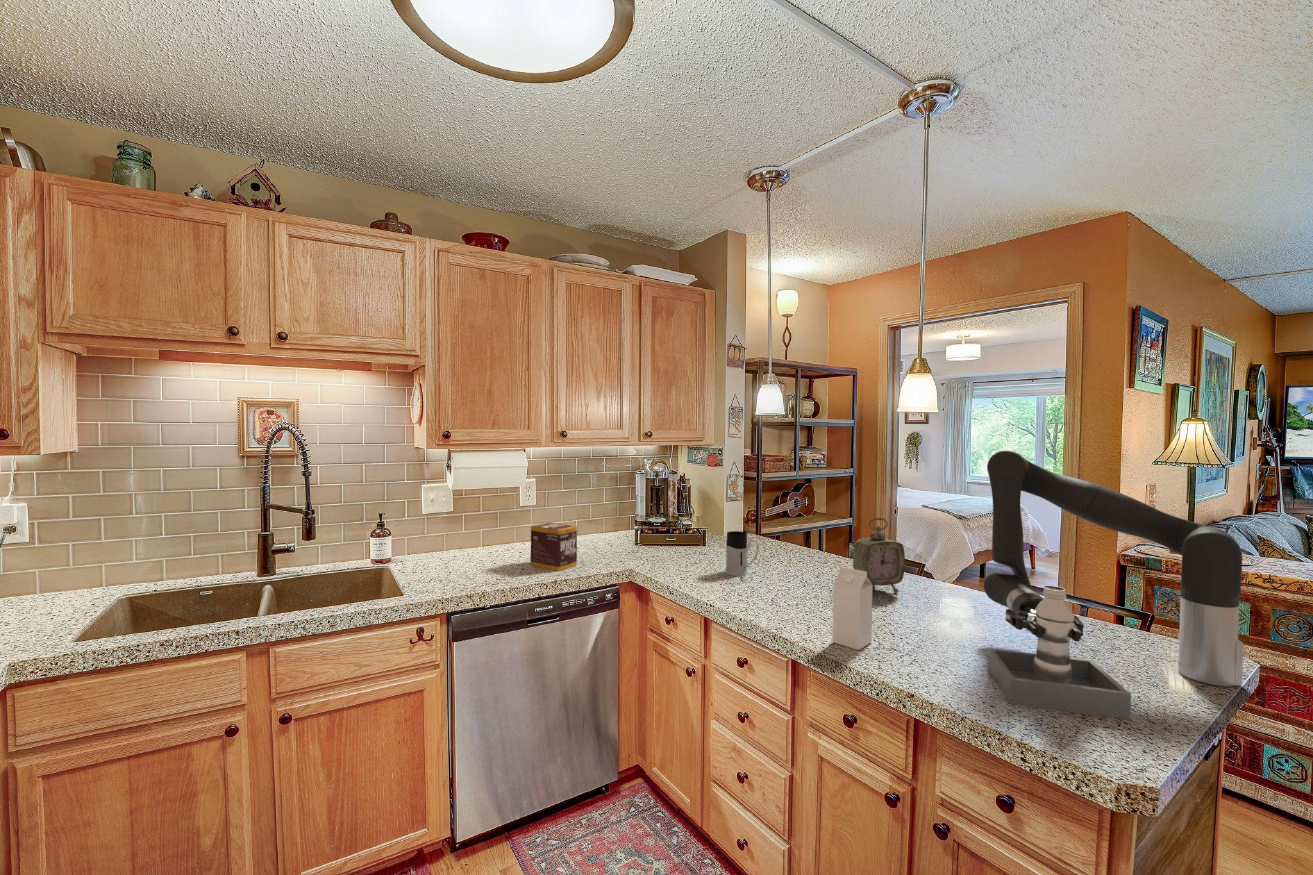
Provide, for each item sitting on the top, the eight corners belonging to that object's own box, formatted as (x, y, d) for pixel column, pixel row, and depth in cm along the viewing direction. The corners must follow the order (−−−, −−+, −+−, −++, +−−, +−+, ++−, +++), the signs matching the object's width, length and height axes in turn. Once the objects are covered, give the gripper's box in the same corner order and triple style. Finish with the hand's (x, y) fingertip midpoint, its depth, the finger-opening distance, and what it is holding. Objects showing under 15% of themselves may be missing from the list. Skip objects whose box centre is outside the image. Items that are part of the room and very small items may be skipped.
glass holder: (734, 568, 214) (735, 529, 213) (765, 576, 203) (765, 535, 203) (720, 572, 208) (720, 532, 207) (750, 580, 197) (750, 538, 197)
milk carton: (845, 635, 146) (846, 564, 146) (871, 643, 141) (872, 569, 141) (832, 642, 141) (833, 569, 141) (858, 650, 136) (860, 574, 136)
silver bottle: (1034, 672, 120) (1036, 581, 120) (1073, 681, 116) (1075, 587, 115) (1030, 683, 115) (1033, 588, 115) (1071, 693, 111) (1074, 595, 110)
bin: (1091, 682, 120) (1092, 659, 120) (1130, 720, 105) (1130, 694, 105) (987, 669, 126) (988, 648, 126) (1010, 703, 111) (1010, 679, 111)
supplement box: (559, 571, 207) (559, 530, 207) (530, 565, 216) (530, 525, 215) (577, 565, 216) (577, 526, 216) (548, 560, 224) (549, 521, 224)
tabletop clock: (864, 597, 179) (866, 520, 179) (849, 588, 188) (850, 515, 188) (904, 594, 182) (905, 519, 182) (887, 586, 191) (888, 514, 191)
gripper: (995, 589, 131) (1018, 613, 115) (1066, 595, 127) (1101, 620, 111) (994, 620, 131) (1017, 648, 115) (1065, 627, 127) (1100, 657, 111)
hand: (1058, 634), depth 113 cm, fingers closed on silver bottle, 6 cm apart
